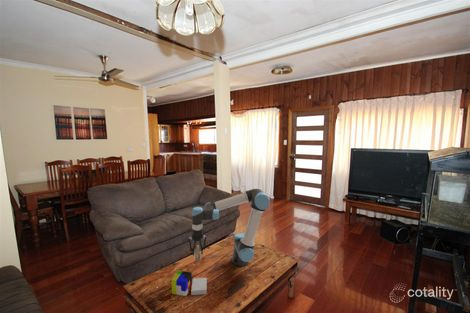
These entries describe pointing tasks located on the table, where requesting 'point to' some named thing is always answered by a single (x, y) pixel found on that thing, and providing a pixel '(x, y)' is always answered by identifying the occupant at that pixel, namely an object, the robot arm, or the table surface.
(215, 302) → the table surface
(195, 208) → the robot arm
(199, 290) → the slab
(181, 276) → the puzzle toy
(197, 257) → the dowel
